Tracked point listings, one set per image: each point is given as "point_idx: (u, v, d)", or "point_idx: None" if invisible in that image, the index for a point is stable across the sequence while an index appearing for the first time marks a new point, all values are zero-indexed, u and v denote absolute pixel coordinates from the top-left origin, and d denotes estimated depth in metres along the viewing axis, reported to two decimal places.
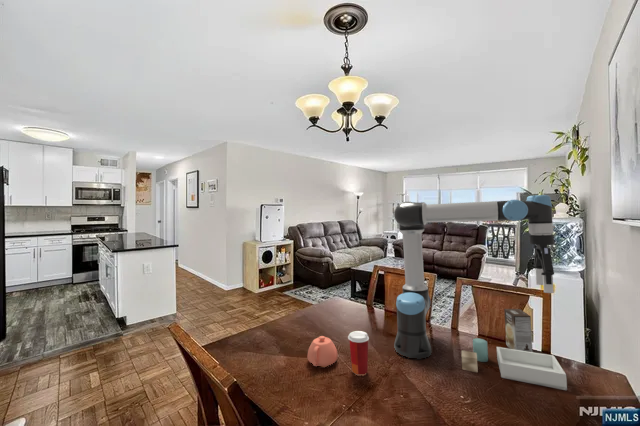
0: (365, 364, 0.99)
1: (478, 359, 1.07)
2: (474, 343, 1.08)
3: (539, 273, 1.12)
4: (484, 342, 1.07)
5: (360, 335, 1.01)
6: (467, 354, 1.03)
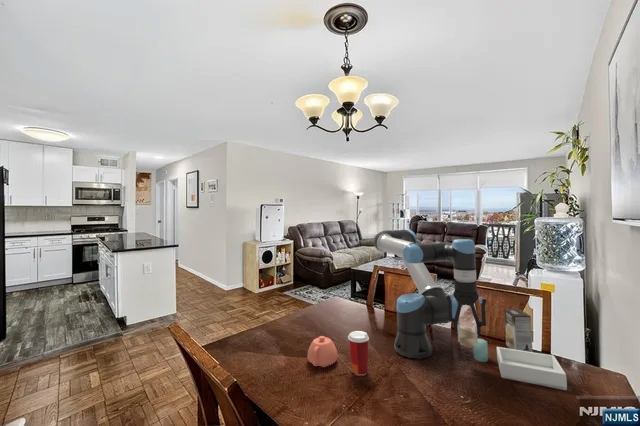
0: (365, 364, 0.99)
1: (478, 359, 1.07)
2: None
3: None
4: (484, 342, 1.07)
5: (360, 335, 1.01)
6: (465, 329, 1.03)
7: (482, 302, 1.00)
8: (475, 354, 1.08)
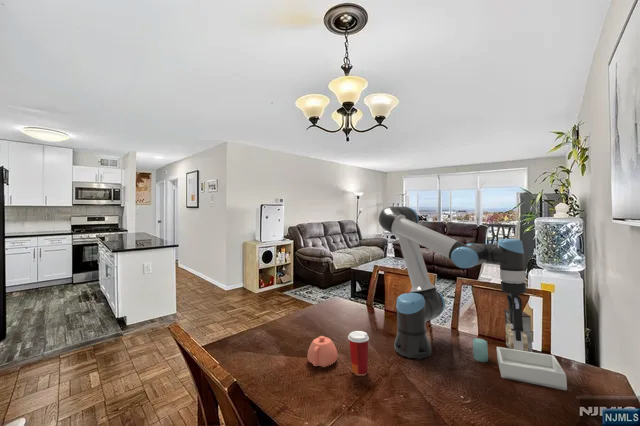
0: (365, 364, 0.99)
1: (478, 359, 1.07)
2: (474, 343, 1.08)
3: None
4: (484, 342, 1.07)
5: (360, 335, 1.01)
6: None
7: None
8: (475, 354, 1.08)
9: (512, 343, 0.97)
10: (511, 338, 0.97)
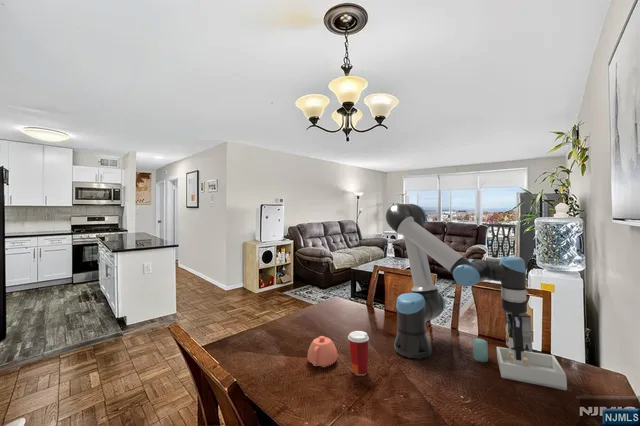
0: (365, 364, 0.99)
1: (478, 359, 1.07)
2: (474, 343, 1.08)
3: (513, 343, 1.03)
4: (484, 342, 1.07)
5: (360, 335, 1.01)
6: None
7: None
8: (475, 354, 1.08)
9: None
10: (512, 361, 0.97)
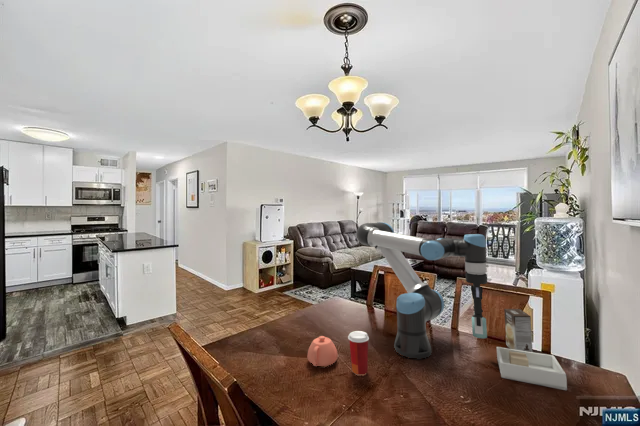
0: (365, 364, 0.99)
1: (477, 336, 1.07)
2: (473, 320, 1.08)
3: None
4: (482, 319, 1.07)
5: (360, 335, 1.01)
6: (518, 355, 0.98)
7: None
8: (474, 331, 1.08)
9: None
10: (512, 361, 0.97)
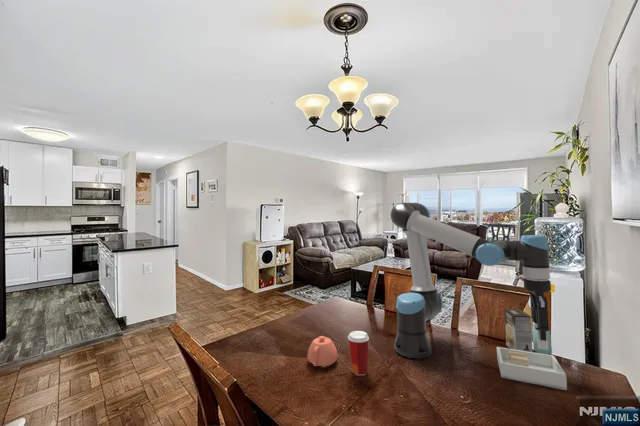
0: (365, 364, 0.99)
1: (541, 351, 0.94)
2: (535, 333, 0.95)
3: None
4: None
5: (360, 335, 1.01)
6: (518, 355, 0.98)
7: None
8: (536, 345, 0.95)
9: None
10: (512, 361, 0.97)
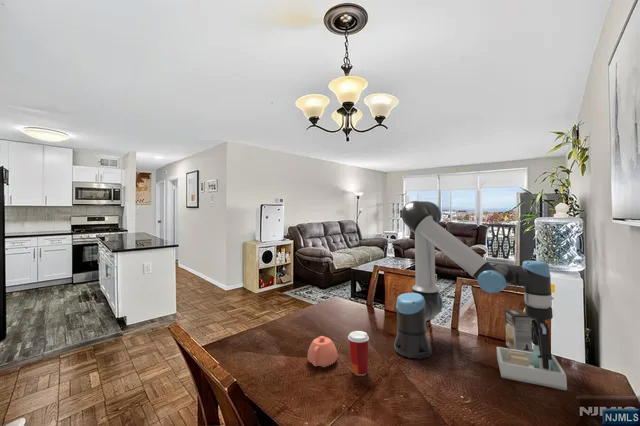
0: (365, 364, 0.99)
1: None
2: (536, 356, 0.95)
3: None
4: None
5: (360, 335, 1.01)
6: (518, 355, 0.98)
7: None
8: None
9: None
10: (512, 361, 0.97)
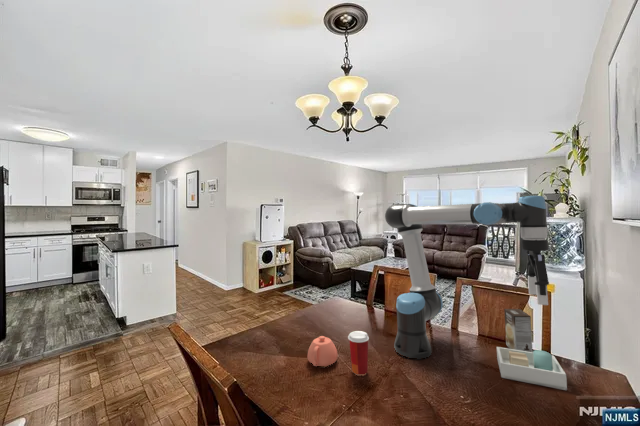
0: (365, 364, 0.99)
1: None
2: (536, 356, 0.95)
3: (532, 281, 1.02)
4: (548, 355, 0.94)
5: (360, 335, 1.01)
6: (518, 355, 0.98)
7: None
8: None
9: None
10: (512, 361, 0.97)
